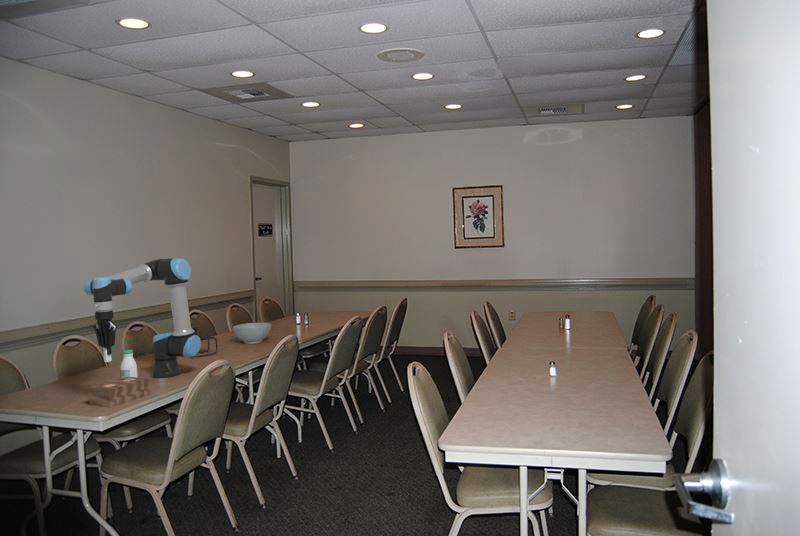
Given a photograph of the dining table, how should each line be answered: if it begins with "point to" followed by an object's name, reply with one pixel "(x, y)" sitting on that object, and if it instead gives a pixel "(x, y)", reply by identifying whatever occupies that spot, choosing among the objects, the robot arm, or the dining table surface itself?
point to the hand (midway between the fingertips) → (107, 361)
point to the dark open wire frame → (204, 339)
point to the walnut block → (118, 392)
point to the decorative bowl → (252, 332)
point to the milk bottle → (128, 365)
